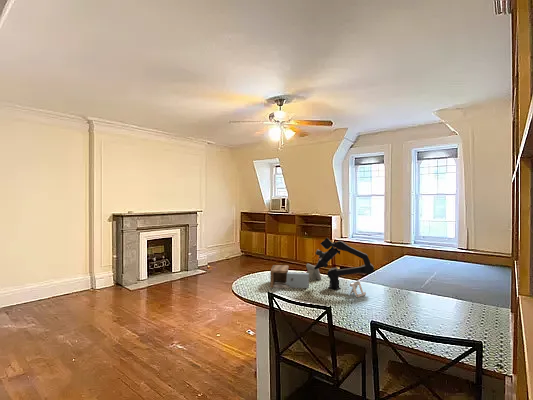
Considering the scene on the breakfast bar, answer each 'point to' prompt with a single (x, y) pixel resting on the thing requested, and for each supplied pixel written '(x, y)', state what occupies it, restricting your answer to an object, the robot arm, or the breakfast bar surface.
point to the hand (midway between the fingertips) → (314, 268)
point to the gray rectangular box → (298, 280)
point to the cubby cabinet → (279, 276)
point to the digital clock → (313, 272)
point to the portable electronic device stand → (355, 289)
